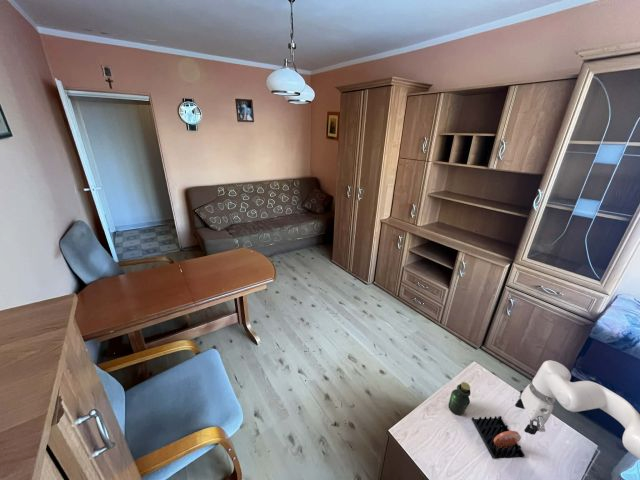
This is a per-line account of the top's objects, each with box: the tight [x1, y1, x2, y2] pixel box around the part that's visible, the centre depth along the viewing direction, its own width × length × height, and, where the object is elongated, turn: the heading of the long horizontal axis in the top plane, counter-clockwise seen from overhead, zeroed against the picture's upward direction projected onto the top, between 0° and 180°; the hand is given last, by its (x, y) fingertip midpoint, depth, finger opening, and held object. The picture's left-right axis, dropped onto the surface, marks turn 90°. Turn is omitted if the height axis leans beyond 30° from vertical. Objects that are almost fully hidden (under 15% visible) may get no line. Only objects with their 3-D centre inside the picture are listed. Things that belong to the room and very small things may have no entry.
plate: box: [493, 430, 522, 449], centre depth 112 cm, size 1×11×12 cm, turn 94°
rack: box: [471, 415, 526, 460], centre depth 118 cm, size 16×14×5 cm
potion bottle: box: [447, 381, 471, 417], centre depth 126 cm, size 8×8×18 cm
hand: (524, 419), depth 101 cm, fingers open, 9 cm apart
